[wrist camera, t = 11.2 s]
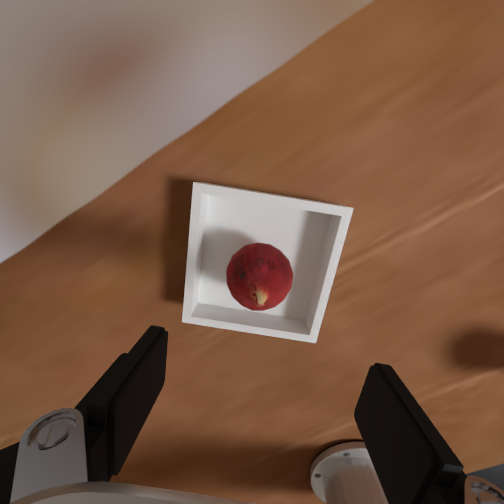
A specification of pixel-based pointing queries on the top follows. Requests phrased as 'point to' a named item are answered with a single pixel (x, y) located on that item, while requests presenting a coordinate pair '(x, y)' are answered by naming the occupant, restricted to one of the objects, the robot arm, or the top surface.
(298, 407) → the top surface
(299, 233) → the box
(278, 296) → the onion
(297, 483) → the top surface
